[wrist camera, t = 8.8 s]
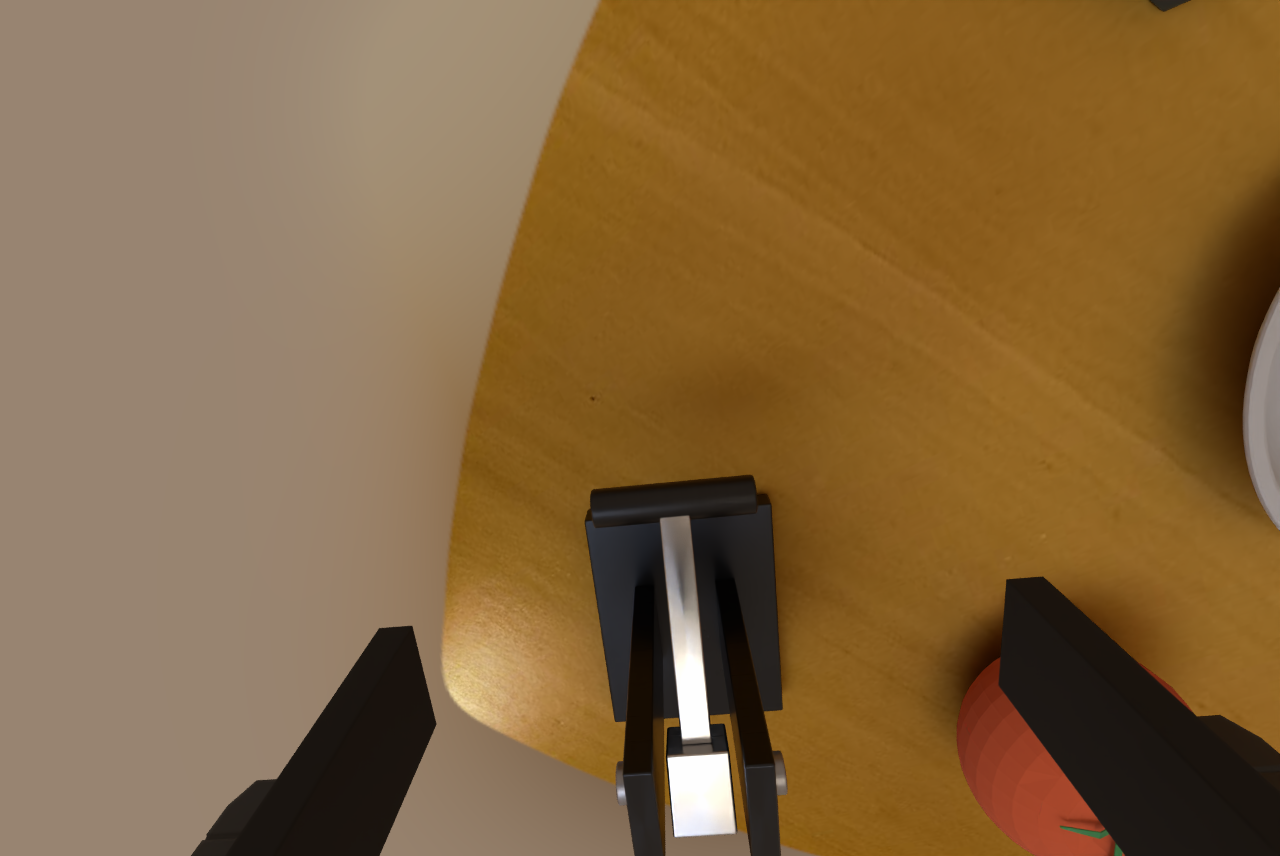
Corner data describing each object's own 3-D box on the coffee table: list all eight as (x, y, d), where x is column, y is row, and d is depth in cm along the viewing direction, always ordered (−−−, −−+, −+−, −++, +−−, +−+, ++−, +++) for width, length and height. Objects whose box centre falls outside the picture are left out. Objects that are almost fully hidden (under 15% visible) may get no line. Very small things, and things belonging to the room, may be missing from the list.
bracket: (587, 509, 32) (543, 683, 20) (767, 493, 32) (835, 661, 19) (616, 705, 36) (594, 954, 24) (778, 693, 35) (842, 942, 23)
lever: (595, 488, 25) (586, 491, 23) (749, 473, 25) (756, 475, 22) (624, 804, 24) (618, 842, 22) (782, 794, 24) (794, 831, 22)
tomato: (1101, 758, 36) (1262, 951, 26) (916, 760, 36) (1008, 950, 27) (1137, 599, 33) (1333, 752, 23) (935, 602, 33) (1047, 754, 24)
